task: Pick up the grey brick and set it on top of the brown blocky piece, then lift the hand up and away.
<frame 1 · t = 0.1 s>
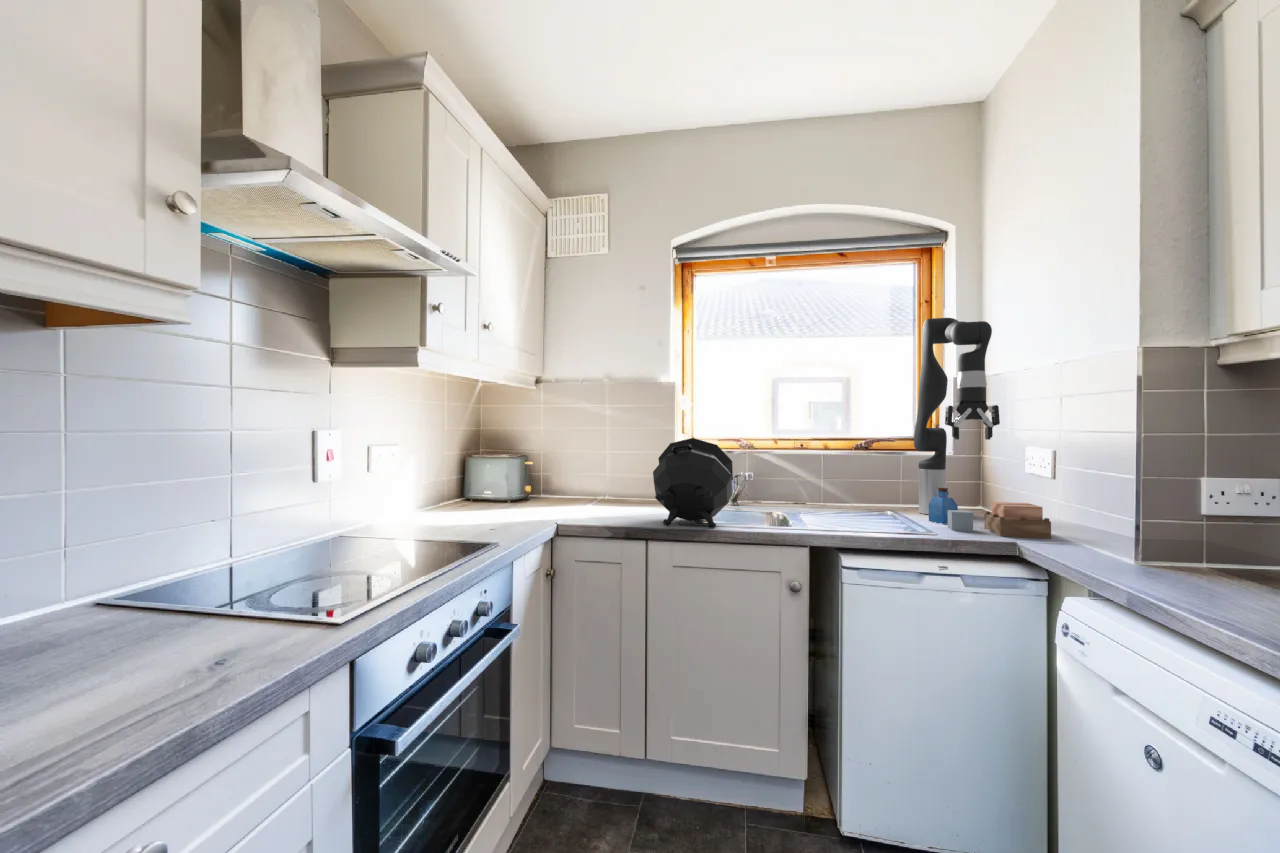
hand: (972, 439, 163), 29 cm above the worktop, tool pointing down, fingers open, 8 cm apart
brown blocky piece: (1016, 533, 163), on the worktop
cauldron: (693, 524, 179), on the worktop
perfume bottle: (943, 523, 185), on the worktop
grey brick: (960, 530, 170), on the worktop
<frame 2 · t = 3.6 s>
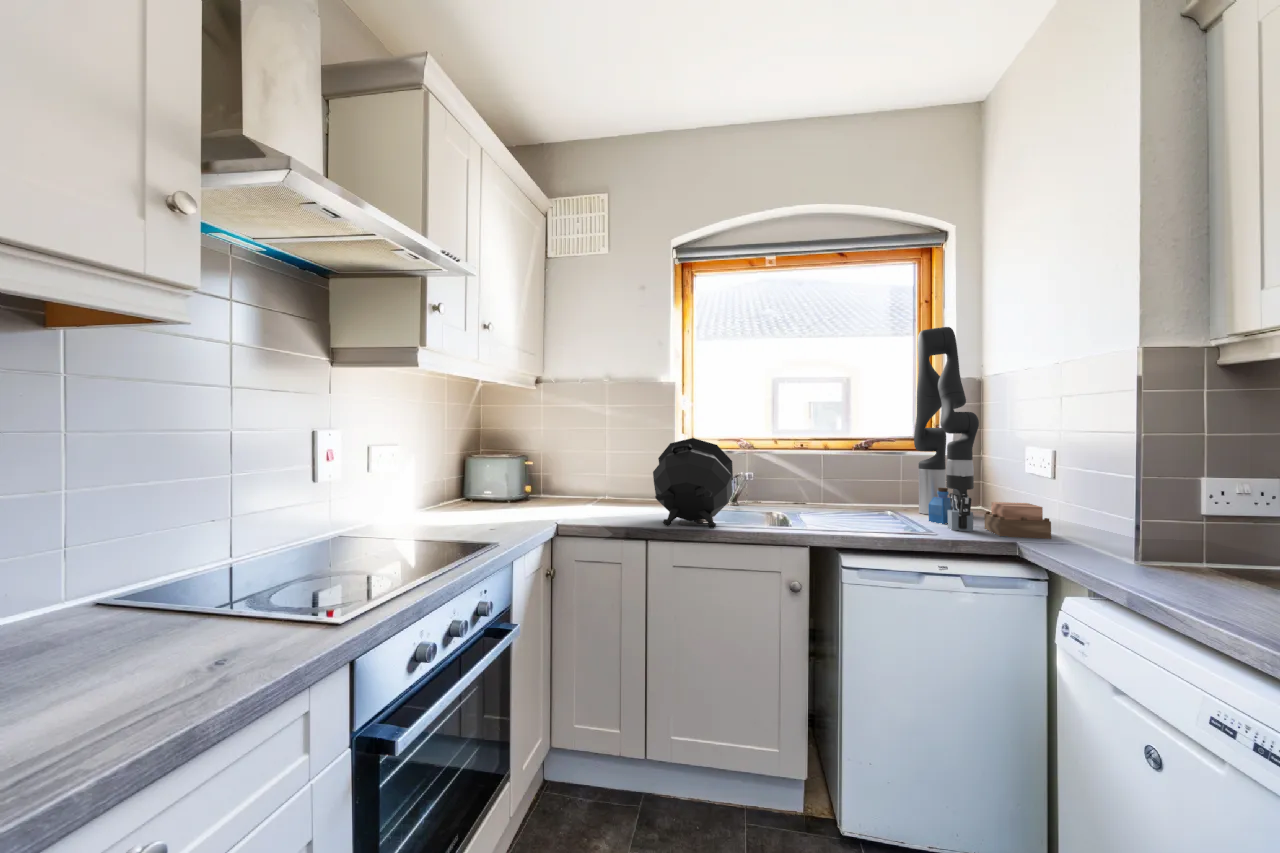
hand: (960, 527, 170), 1 cm above the worktop, tool pointing down, fingers closed on grey brick, 4 cm apart
grey brick: (960, 529, 170), on the worktop, touching gripper
everything else where it was.
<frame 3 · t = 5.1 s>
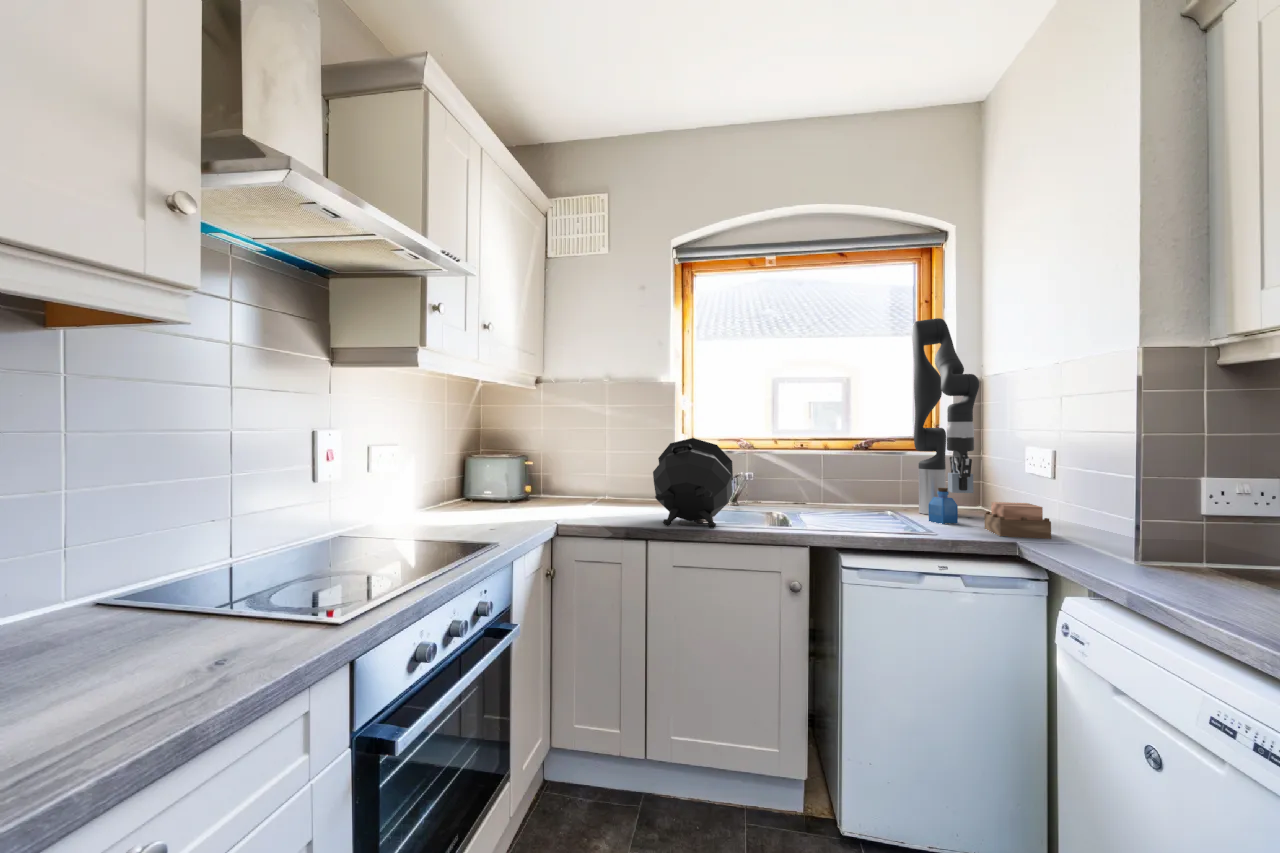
hand: (960, 489, 170), 13 cm above the worktop, tool pointing down, fingers closed on grey brick, 4 cm apart
grey brick: (960, 492, 170), point 12 cm above the worktop, touching gripper
everything else where it was.
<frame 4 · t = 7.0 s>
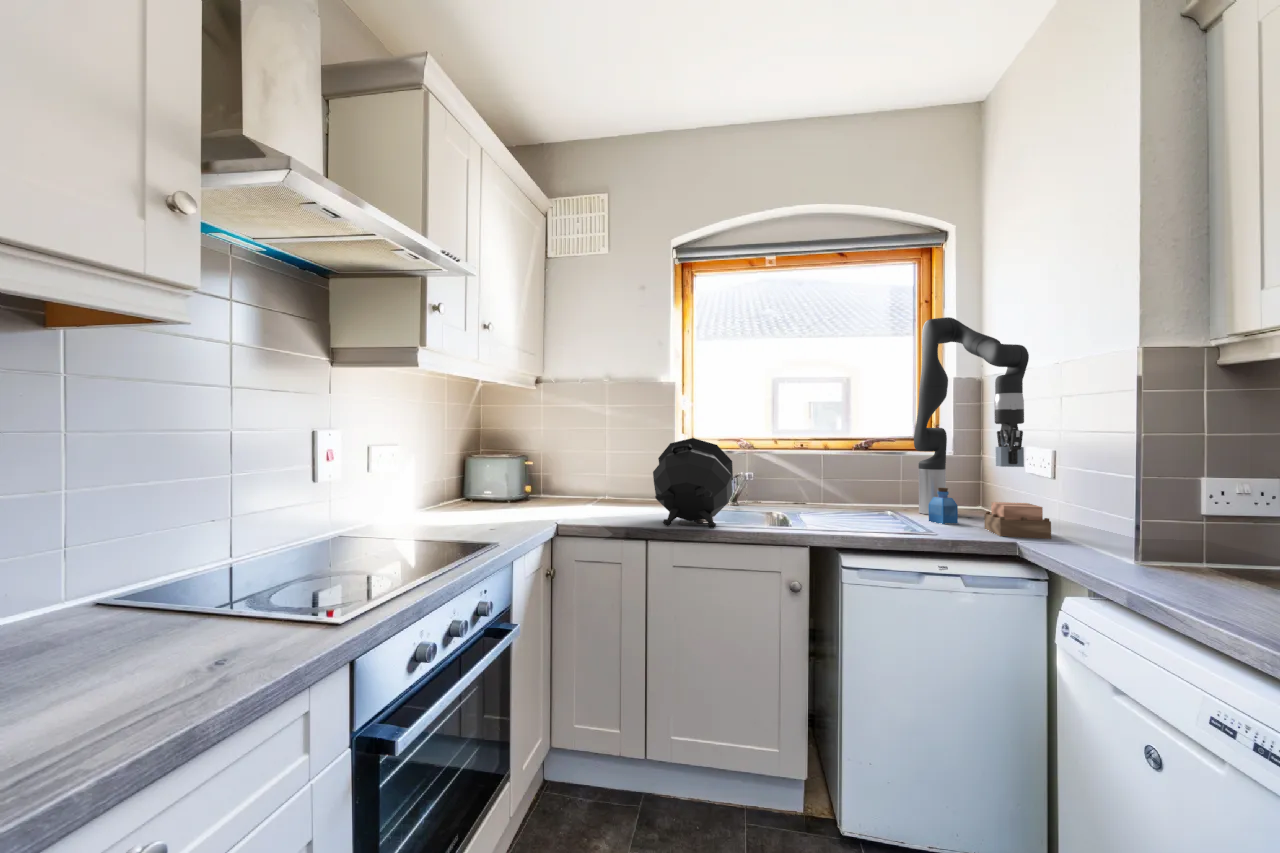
hand: (1009, 463, 164), 22 cm above the worktop, tool pointing down, fingers closed on grey brick, 4 cm apart
grey brick: (1009, 466, 164), point 21 cm above the worktop, touching gripper
everything else where it was.
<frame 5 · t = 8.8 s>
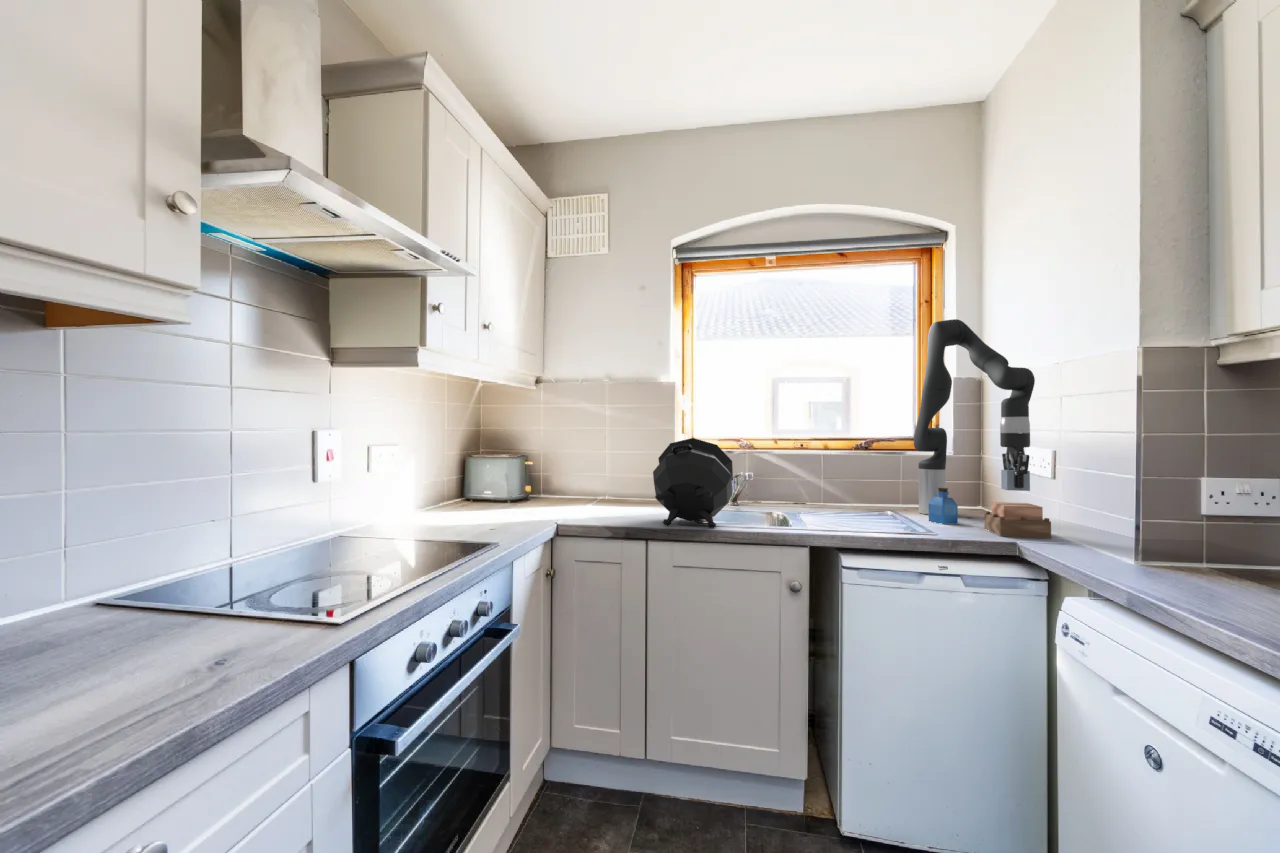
hand: (1015, 487, 163), 14 cm above the worktop, tool pointing down, fingers closed on grey brick, 4 cm apart
grey brick: (1015, 489, 164), point 13 cm above the worktop, touching gripper
everything else where it was.
when the fingers open (11 cm above the worktop, at t = 10.4 s): grey brick drops 1 cm, resting on brown blocky piece.
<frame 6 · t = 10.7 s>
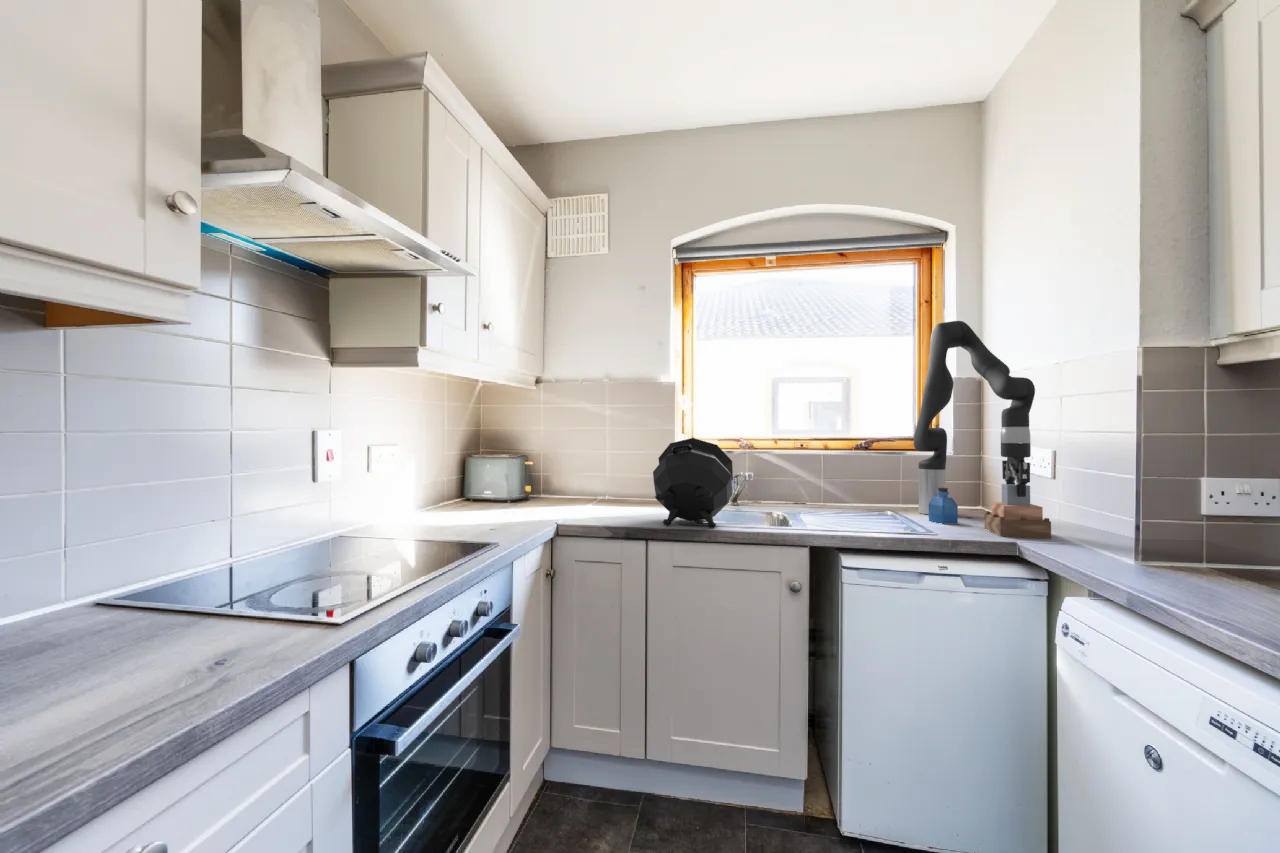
hand: (1015, 495, 163), 12 cm above the worktop, tool pointing down, fingers open, 7 cm apart
grey brick: (1015, 504, 163), point 9 cm above the worktop, touching brown blocky piece
everything else where it was.
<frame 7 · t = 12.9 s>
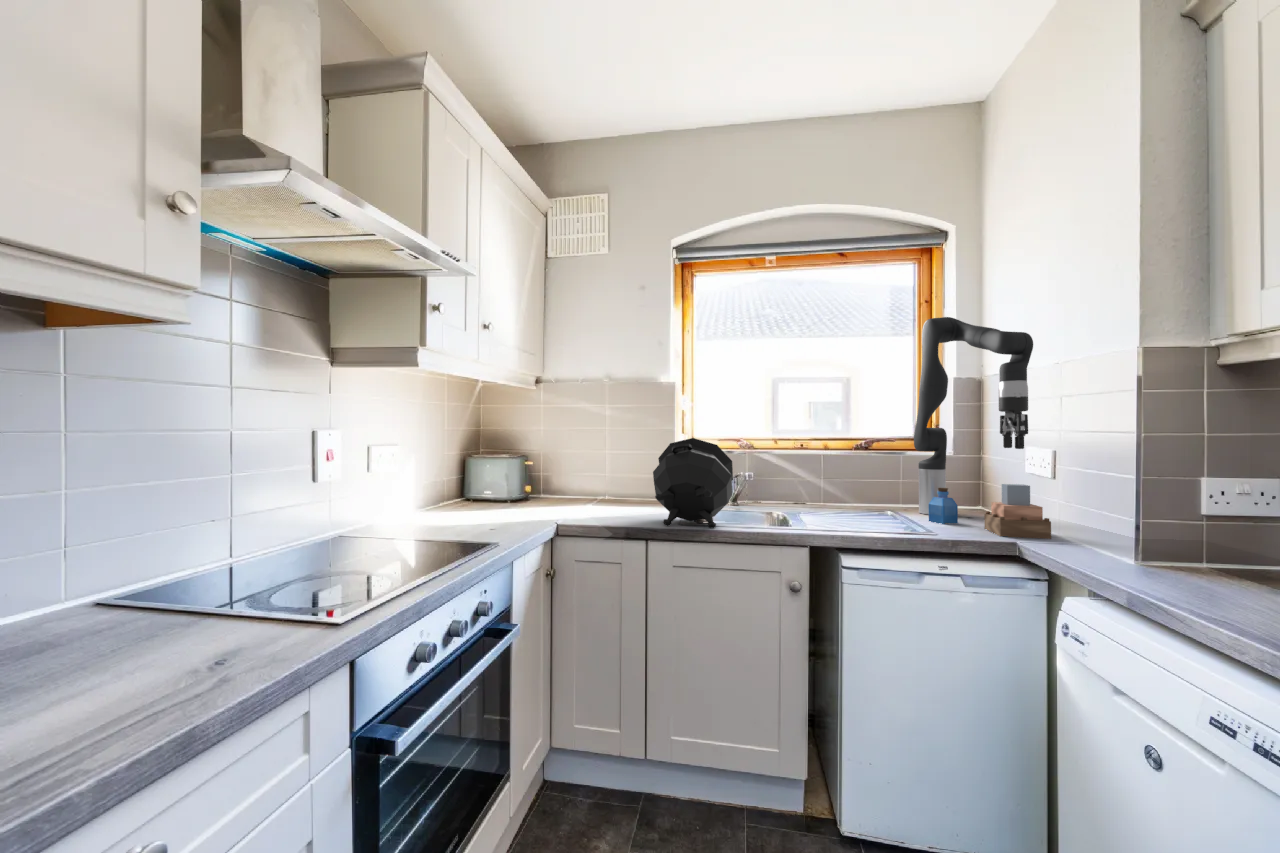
hand: (1013, 448, 164), 26 cm above the worktop, tool pointing down, fingers open, 8 cm apart
nothing on the worktop moved.
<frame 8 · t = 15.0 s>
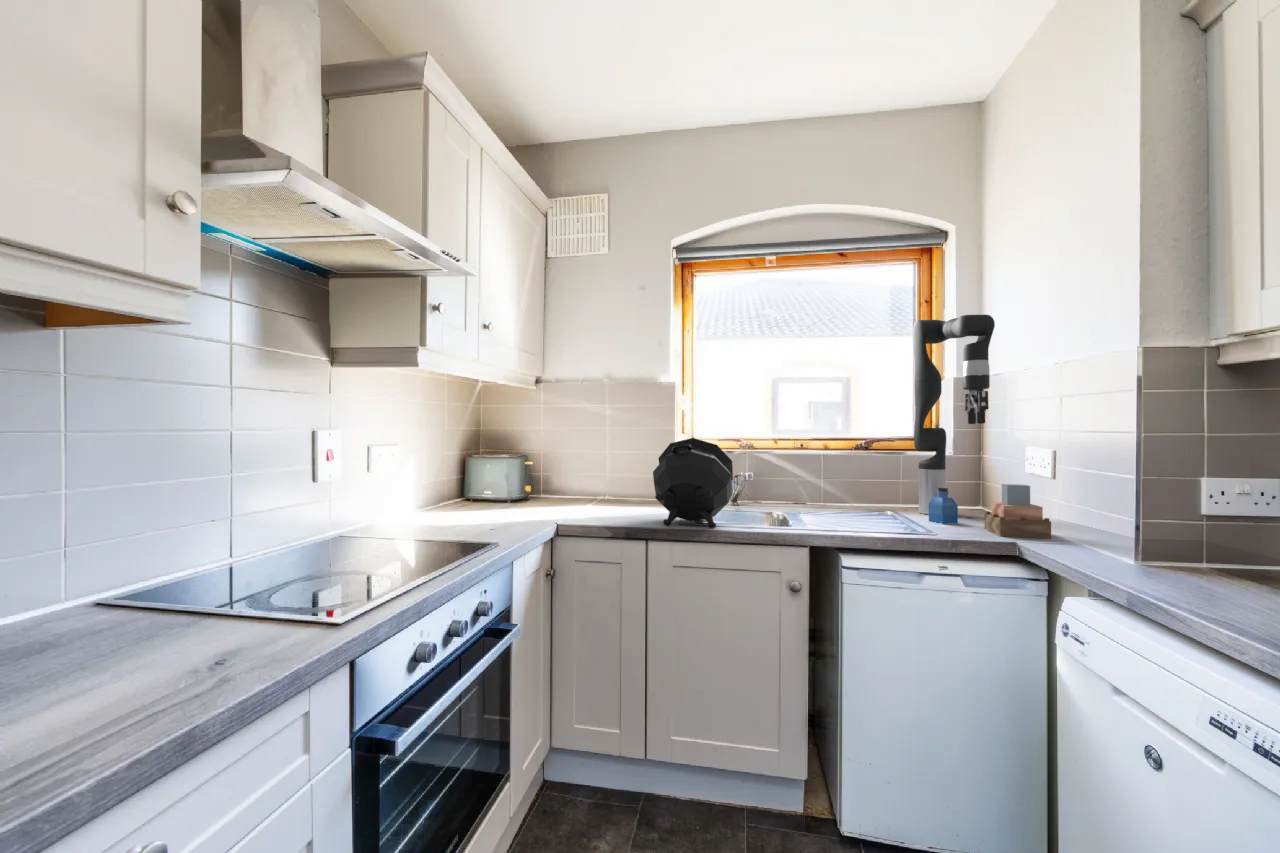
hand: (976, 423, 175), 34 cm above the worktop, tool pointing down, fingers open, 8 cm apart
nothing on the worktop moved.
at the end: grey brick 0.1 cm off-centre on the brown blocky piece, point 9.0 cm above the brown blocky piece's base; grey brick tilted 0°; the gripper is holding nothing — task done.
